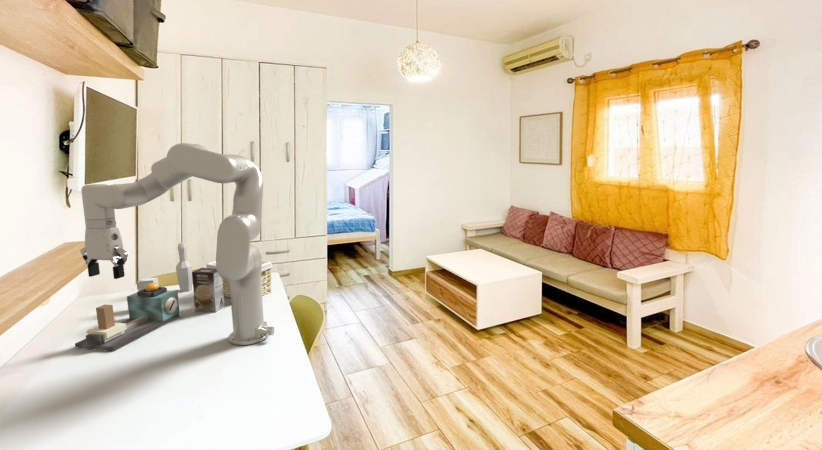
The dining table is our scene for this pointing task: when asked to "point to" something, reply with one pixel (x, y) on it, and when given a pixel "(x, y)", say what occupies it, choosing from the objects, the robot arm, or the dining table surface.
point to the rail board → (127, 335)
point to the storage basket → (264, 278)
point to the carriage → (107, 324)
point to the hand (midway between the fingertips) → (106, 276)
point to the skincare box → (146, 282)
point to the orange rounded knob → (151, 287)
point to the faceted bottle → (184, 270)
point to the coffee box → (207, 290)
